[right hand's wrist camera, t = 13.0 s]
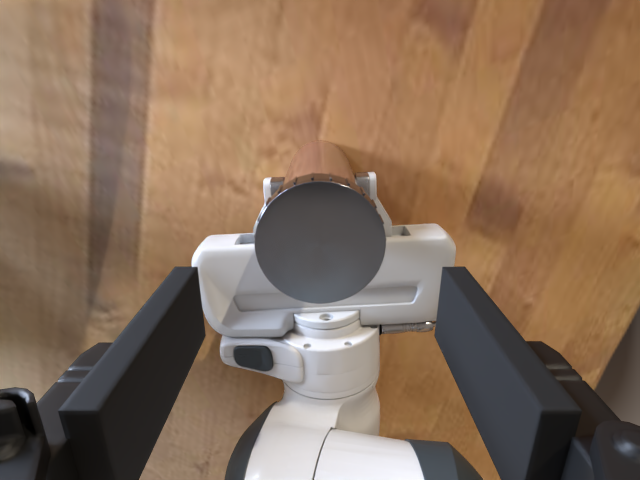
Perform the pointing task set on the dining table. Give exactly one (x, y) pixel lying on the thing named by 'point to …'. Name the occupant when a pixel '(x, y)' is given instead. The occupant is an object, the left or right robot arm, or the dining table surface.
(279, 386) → the dining table surface
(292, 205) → the lid
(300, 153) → the brown cylinder
